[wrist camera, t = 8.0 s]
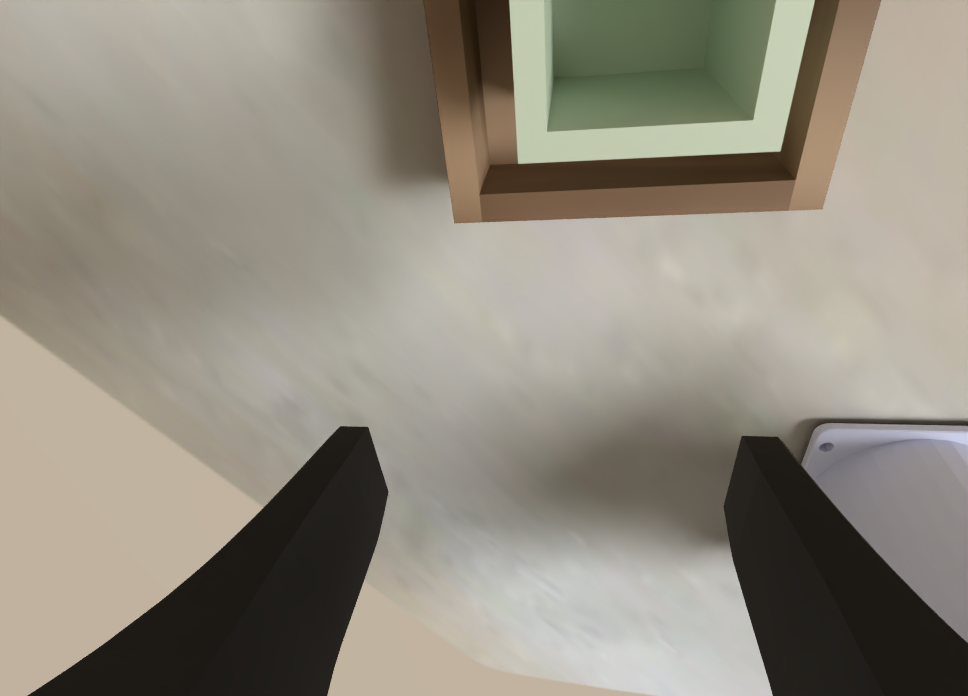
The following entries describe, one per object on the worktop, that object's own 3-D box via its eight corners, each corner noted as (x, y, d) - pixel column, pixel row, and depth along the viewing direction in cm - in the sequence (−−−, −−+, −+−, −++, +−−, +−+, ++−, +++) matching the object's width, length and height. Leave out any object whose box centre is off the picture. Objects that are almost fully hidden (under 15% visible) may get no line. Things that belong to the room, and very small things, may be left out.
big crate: (786, 169, 16) (822, 209, 14) (470, 184, 18) (454, 223, 16) (898, -321, 11) (991, -392, 8) (421, -236, 12) (385, -275, 10)
